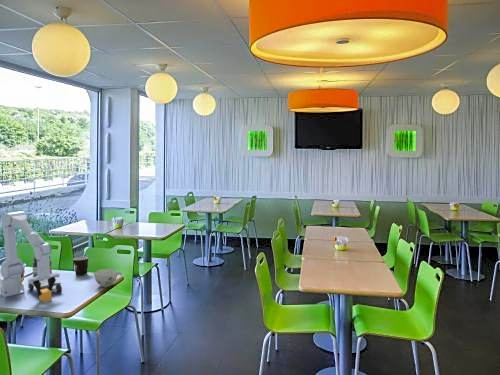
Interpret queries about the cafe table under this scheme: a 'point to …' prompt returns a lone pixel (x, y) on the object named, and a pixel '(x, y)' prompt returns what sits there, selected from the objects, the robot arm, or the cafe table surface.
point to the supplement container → (36, 267)
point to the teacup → (106, 277)
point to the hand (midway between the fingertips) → (44, 293)
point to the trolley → (45, 284)
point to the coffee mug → (81, 265)
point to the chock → (45, 295)
